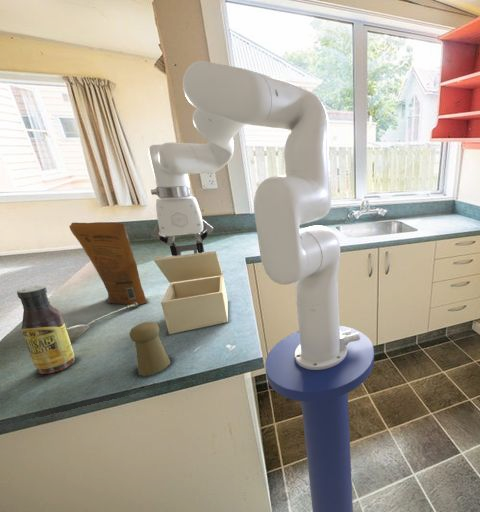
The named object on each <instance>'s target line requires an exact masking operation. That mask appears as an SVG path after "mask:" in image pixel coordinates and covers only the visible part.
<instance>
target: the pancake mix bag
mask: <svg viewBox="0 0 480 512" xmlns="http://www.w3.org/2000/svg"><path fill="white" fill-rule="evenodd" d="M68 227H69V229H70V230H69V231H70V232H71V233H72V235H73V236H74V237H75V238H76V240H77V241H78V243H79V244H80V246H81V248H82V249H83V251H84V253H85V254H86V256H87V257H88V259H89V261H90V262H91V264H92V265H93V268H94V269H95V270H96V272H97V274H98V277H99V278H100V280H101V281H102V283H103V285H104V288H105V290H106V292H107V303H110V304H118V305H126V306H129V305H132V304H133V303H134V302H136V303H137V304H138V306H140V305H145V304H148V300H147V298H146V294H145V291H144V289H143V287H142V282H141V279H140V275H139V270H138V263H137V260H136V258H135V256H134V252H133V248H132V246H131V243H130V238H129V235H128V231H127V224H124V223H121V222H114V221H112V222H111V221H105V222H104V221H99V222H98V221H96V222H95V221H94V222H71V224H70V225H68Z"/></svg>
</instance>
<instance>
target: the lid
mask: <svg viewBox="0 0 480 512" xmlns="http://www.w3.org/2000/svg"><path fill="white" fill-rule="evenodd" d="M176 251H177V256H172V255H170V256H162V257H154V258H153V262H154V263H155V265H156V266H157V267H158V269H159V270H160V272H161V273H162V275H163V276H164V278H166V280H167V281H168V283H169V284H170V283H176V282H183V281H189V280H196V279H203V278H210V277H217V276H224V274H223V273H224V272H223V269H222V267H221V263H220V260H219V256H218V253H217V251H206V252H205V251H204V252H202V253H198V250H197V245H196V243H193V244H191V243H190V244H182V245H177V246H176ZM192 251H193V253H188V254H182V253H183V252H192Z"/></svg>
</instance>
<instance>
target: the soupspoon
mask: <svg viewBox="0 0 480 512" xmlns="http://www.w3.org/2000/svg"><path fill="white" fill-rule="evenodd" d="M138 307H139V305H138V304H137V303H136V302H134V303H133V304H132V305H126V306H123V307H122V308H119V309H117V310H114V311H112V312H110V313H108V314H104V315H102V316H100V317H98V318H96V319H94V320H92V321H90V322H88V323H86V324H77V325H74V326H70V327H66V330H67V333H68V336H69V339H70V342H71V343H72V342H74V341H75V340H76V339H78V338H79V337H80V336H81V335H83V334H84V333H85V332H86V331H87V330H88V329H89V328H90V326H92V325H93V324H95V323H97V322H98V321H100V320H103V319H105V318H107V317H109V316H111V315H113V314H116V313H118V312H120V311H124V310H127V309H131V308H138Z"/></svg>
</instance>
